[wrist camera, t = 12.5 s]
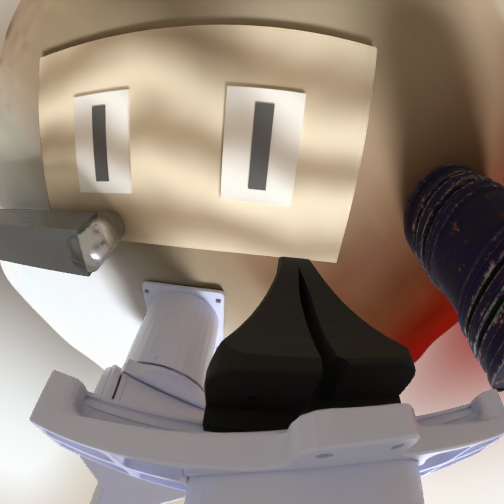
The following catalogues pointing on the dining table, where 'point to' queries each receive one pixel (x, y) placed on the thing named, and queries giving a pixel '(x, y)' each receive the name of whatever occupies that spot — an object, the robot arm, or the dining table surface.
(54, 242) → the grey square pillar
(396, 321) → the dining table surface
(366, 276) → the dining table surface
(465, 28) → the dining table surface
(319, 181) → the label board
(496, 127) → the dining table surface
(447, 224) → the storage jar
